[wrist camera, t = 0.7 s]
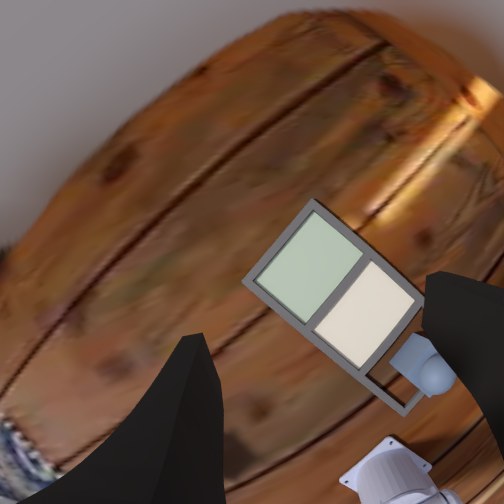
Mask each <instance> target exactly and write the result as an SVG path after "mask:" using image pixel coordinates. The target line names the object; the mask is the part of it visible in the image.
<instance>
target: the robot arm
mask: <svg viewBox="0 0 504 504" xmlns="http://www.w3.org/2000/svg"><path fill="white" fill-rule="evenodd" d="M421 327H422V328H423V330H424V332H425V333H426V335H427V337H428V338H429V340H430V342H431V343H432V345H433V346H434V348H435V349H436V351H437V352H438V353H439V354H440V356H441V357H442V358H443V359H444V360H445V362H446V363H447V364H448V365H449V367H450V368H451V369H452V370H453V371H454V373H455V374H456V375H457V376H458V378H459V379H460V380H461V381H462V383H463V384H464V385H465V386H466V388H467V389H468V390H469V391H470V393H471V394H472V396H473V397H474V399H475V400H476V402H477V404H478V405H479V407H480V409H481V411H482V412H483V414H484V416H485V418H486V420H487V422H488V424H489V426H490V428H491V430H492V432H493V434H494V436H495V439H496V441H497V444H498V446H499V449H500V452H501V454H502V457H503V460H504V289H503V288H500V287H496V286H493V285H490V284H487V283H483V282H480V281H477V280H474V279H470V278H467V277H464V276H460V275H456V274H452V273H448V272H443V271H439V272H436V273H433V274H430V275H427V276H426V286H425V298H424V308H423V317H422V325H421ZM223 427H224V409H223V399H222V390H221V382H220V379H219V376H218V374H217V371H216V368H215V366H214V363H213V360H212V358H211V355H210V352H209V349H208V347H207V344H206V341H205V338H204V335H203V333H198V334H193V335H188V336H183V337H182V338H181V340H180V341H179V343H178V344H177V346H176V347H175V349H174V351H173V352H172V354H171V355H170V357H169V359H168V360H167V362H166V363H165V365H164V366H163V368H162V370H161V371H160V373H159V374H158V376H157V377H156V379H155V380H154V382H153V383H152V385H151V386H150V388H149V389H148V390H147V392H146V393H145V394H144V396H143V397H142V398H141V400H140V401H139V402H138V404H137V405H136V407H135V408H134V409H133V410H132V412H131V413H130V414H129V415H128V416H127V418H126V419H125V420H124V421H123V422H122V423H121V424H120V426H119V427H118V428H117V429H116V430H115V431H114V432H113V433H112V434H111V435H110V436H109V437H108V438H107V439H106V440H105V441H104V442H103V443H102V444H101V445H100V446H99V447H98V448H97V449H95V450H94V451H93V452H92V453H91V454H90V455H89V456H88V457H87V458H85V459H84V460H83V461H82V462H81V463H80V464H78V465H77V466H76V467H75V468H73V469H72V470H71V471H69V472H68V473H67V474H65V475H64V476H62V477H61V478H60V479H58V480H57V481H55V482H54V483H52V484H51V485H49V486H47V487H46V488H44V489H42V490H41V491H39V492H37V493H35V494H33V495H32V496H30V497H28V498H26V499H24V500H22V501H20V502H18V503H16V504H226V499H225V491H224V480H223ZM391 441H393V442H392V443H390V442H391ZM424 464H425V465H424ZM423 465H424V466H423ZM431 468H432V465H431V464H430V463H428V462H427V461H425V460H424V459H422V458H421V457H419V456H418V455H417V454H415V453H414V452H412V451H411V450H409V449H408V448H407V447H405V446H404V445H402V444H401V443H399V442H398V441H397V440H395V439H394V438H393V437H391V436H388V437H386V438H385V439H384V440H383V441H382V442H381V443H380V444H378V445H377V446H376V447H375V448H374V449H373V450H372V451H371V452H370V453H369V454H368V455H366V456H365V457H364V458H363V459H362V460H361V461H360V462H358V463H357V464H356V465H355V466H354V467H352V468H351V469H350V470H349V471H348V472H346V473H345V474H344V475H343V476H341V477H340V479H339V480H340V482H341V483H342V484H344V485H346V486H347V487H349V488H351V489H353V490H354V491H356V492H358V493H359V497H360V501H361V504H463V502H462V501H461V499H460V498H459V496H458V495H457V494H456V493H455V492H454V491H453V490H448V489H443V490H441V491H439V490H438V488H437V487H436V485H435V484H434V482H433V481H432V479H431V478H430V476H429V475H428V473H427V472H429V471H430V470H431ZM347 480H348V481H347ZM345 481H347V482H345Z"/></svg>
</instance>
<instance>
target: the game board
mask: <svg viewBox="0 0 504 504" xmlns="http://www.w3.org/2000/svg"><path fill="white" fill-rule="evenodd" d="M311 212H312V213H311ZM315 212H316V213H317V214H316V213H315ZM310 213H311V214H310ZM309 214H310V215H309ZM308 215H309V216H308ZM321 217H322V218H323V219H322V218H321ZM305 219H306V220H305ZM304 220H305V221H304ZM303 221H304V222H303ZM327 222H328V223H329V224H328V223H327ZM300 225H301V226H300ZM299 226H300V227H299ZM298 227H299V228H298ZM333 227H334V228H335V229H334V228H333ZM295 231H296V232H295ZM294 232H295V233H294ZM339 232H340V233H341V234H342V235H341V234H340V233H339ZM293 233H294V234H293ZM290 237H291V238H290ZM289 238H290V239H289ZM346 238H347V239H348V240H349V241H348V240H347V239H346ZM288 239H289V240H288ZM287 240H288V241H287ZM284 244H285V245H284ZM353 244H354V245H355V246H356V247H355V246H354V245H353ZM283 245H284V246H283ZM282 246H283V247H282ZM279 250H280V251H279ZM278 251H279V252H278ZM361 251H362V252H363V253H364V254H363V253H362V252H361ZM277 252H278V253H277ZM276 253H277V254H276ZM273 257H274V258H273ZM360 257H361V258H360ZM272 258H273V259H272ZM359 258H360V259H359ZM271 259H272V260H271ZM370 259H371V260H372V261H373V262H372V261H371V260H370ZM270 260H271V261H270ZM357 261H358V262H357ZM356 262H357V263H356ZM267 264H268V265H267ZM266 265H267V266H266ZM265 266H266V267H265ZM353 266H354V267H353ZM352 267H353V268H352ZM379 267H380V268H381V269H382V270H383V271H382V270H381V269H380V268H379ZM262 270H263V271H262ZM261 271H262V272H261ZM349 271H350V272H349ZM260 272H261V273H260ZM348 272H349V273H348ZM259 273H260V274H259ZM345 276H346V277H345ZM256 277H257V278H256ZM344 277H345V278H344ZM390 277H391V278H392V279H393V280H394V281H395V282H394V281H393V280H392V279H391V278H390ZM255 278H256V279H255ZM343 278H344V279H343ZM254 279H255V280H254ZM253 280H254V281H253ZM241 282H242V283H243V284H244V285H245V286H246V287H247V288H249V289H250V290H251V291H252V292H253V293H254V294H255V295H257V296H258V297H259V298H260V299H261V300H262V301H264V302H265V303H266V304H267V305H268V306H269V307H271V308H272V309H273V310H274V311H275V312H276V313H277V314H279V315H280V316H281V317H282V318H283V319H285V320H286V321H287V322H288V323H289V324H290V325H292V326H293V327H294V328H295V329H296V330H297V331H299V332H300V333H301V334H302V335H303V336H305V337H306V338H307V339H308V340H309V341H311V342H312V343H313V344H314V345H315V346H317V347H318V348H319V349H320V350H321V351H322V352H324V353H325V354H326V355H327V356H329V357H330V358H331V359H332V360H333V361H335V362H336V363H337V364H338V365H339V366H341V367H342V368H343V369H344V370H346V371H347V372H348V373H349V374H350V375H352V376H353V377H354V378H355V379H357V380H358V381H359V382H360V383H361V384H363V385H364V386H365V387H366V388H368V389H369V390H370V391H371V392H373V393H374V394H375V395H376V396H378V397H379V398H380V399H381V400H383V401H384V402H385V403H386V404H388V405H389V406H390V407H391V408H393V409H394V410H395V411H396V412H398V413H399V414H400V415H402V416H403V417H405V416H406V415H407V414H408V413H409V411H410V410H411V409H412V408H413V407H414V406H415V405H416V404H417V403H418V402H419V400H420V399H421V398H422V397H423V396H424V395H425V394H424V393H423V392H422V391H421V390H420V389H419V390H418V391H417V392H416V393H415V395H414V396H413V397H412V398H411V399H410V400H409V401H408V402H407V403H406V405H405V406H404V407H403V406H402V405H400V404H399V403H398V402H397V401H395V400H394V399H393V398H392V397H390V396H389V395H388V394H387V393H386V392H384V391H383V390H382V389H381V388H379V387H378V386H377V385H376V384H375V383H373V382H372V381H371V380H370V379H368V378H367V377H366V376H365V375H366V374H367V372H368V371H369V370H370V369H371V368H372V367H373V366H374V365H375V363H376V362H377V361H378V360H379V359H380V358H381V357H382V355H383V354H384V353H385V352H386V351H387V349H388V348H389V347H390V346H391V345H392V343H393V342H394V341H395V340H396V339H397V337H398V336H399V335H400V334H401V332H402V331H403V330H404V328H405V327H406V326H407V325H408V323H409V322H410V321H411V319H412V318H413V317H414V315H415V314H416V313H417V311H418V310H419V309H420V307H422V308H424V297H423V296H422V295H421V294H420V293H419V292H418V291H417V290H416V289H415V288H414V287H413V286H412V285H411V284H410V283H409V282H408V281H407V280H406V279H405V278H403V277H402V276H401V275H400V274H399V273H398V272H397V271H396V270H395V269H394V268H393V267H392V266H390V265H389V264H388V263H387V262H386V261H385V260H384V259H383V258H382V257H381V256H379V255H378V254H377V253H376V252H375V251H374V250H373V249H372V248H370V247H369V246H368V245H367V244H366V243H365V242H364V241H363V240H361V239H360V238H359V237H358V236H357V235H356V234H354V233H353V232H352V231H351V230H350V229H349V228H347V227H346V226H345V225H344V224H343V223H342V222H340V221H339V220H338V219H337V218H336V217H334V216H333V215H332V214H331V213H330V212H328V211H327V210H326V209H325V208H323V207H322V206H321V205H320V204H319V203H317V202H316V201H315V200H314V199H311V200H310V201H309V202H308V203H307V205H306V206H305V207H304V208H303V209H302V210H301V212H300V213H299V214H298V215H297V216H296V218H295V219H294V220H293V221H292V222H291V224H290V225H289V226H288V227H287V228H286V229H285V231H284V232H283V233H282V234H281V235H280V236H279V238H278V239H277V240H276V241H275V242H274V244H273V245H272V246H271V247H270V248H269V249H268V251H267V252H266V253H265V254H264V255H263V257H262V258H261V259H260V260H259V261H258V262H257V264H256V265H255V266H254V267H253V268H252V269H251V271H250V272H249V273H248V274H247V275H246V276H245V278H244V279H243V280H242V281H241ZM340 282H341V283H340ZM256 283H257V284H258V285H259V286H260V287H259V286H258V285H257V284H256ZM339 283H340V284H339ZM336 287H337V288H336ZM335 288H336V289H335ZM263 289H264V290H265V291H266V292H267V293H266V292H265V291H264V290H263ZM334 289H335V290H334ZM404 290H405V291H406V292H407V293H408V294H409V295H410V296H409V295H408V294H407V293H406V292H405V291H404ZM331 293H332V294H331ZM330 294H331V295H330ZM270 295H271V296H272V297H273V298H274V299H273V298H272V297H271V296H270ZM329 295H330V296H329ZM325 300H326V301H325ZM277 301H278V302H279V303H280V304H281V305H280V304H279V303H278V302H277ZM324 301H325V302H324ZM323 302H324V303H323ZM413 302H414V303H413ZM320 306H321V307H320ZM410 306H411V307H410ZM284 307H285V308H286V309H287V310H288V311H287V310H286V309H285V308H284ZM319 307H320V308H319ZM318 308H319V309H318ZM317 309H318V310H317ZM407 310H408V311H407ZM291 313H292V314H293V315H294V316H295V317H294V316H293V315H292V314H291ZM314 313H315V314H314ZM313 314H314V315H313ZM404 314H405V315H404ZM312 315H313V316H312ZM311 316H312V317H311ZM298 319H299V320H300V321H301V322H302V323H301V322H300V321H299V320H298ZM307 321H308V322H307ZM306 322H307V323H306ZM305 323H306V324H305ZM397 323H398V324H397ZM304 324H305V325H304ZM393 328H394V329H393ZM311 330H312V331H313V332H314V333H315V334H314V333H313V332H312V331H311ZM389 333H390V334H389ZM318 336H319V337H320V338H321V339H320V338H319V337H318ZM384 339H385V340H384ZM324 341H325V342H326V343H327V344H326V343H325V342H324ZM379 345H380V346H379ZM330 346H331V347H332V348H333V349H334V350H333V349H332V348H331V347H330ZM336 351H337V352H338V353H339V354H340V355H339V354H338V353H337V352H336ZM374 351H375V352H374ZM342 356H343V357H344V358H345V359H346V360H345V359H344V358H343V357H342ZM367 359H368V360H367ZM348 361H349V362H350V363H351V364H352V365H351V364H350V363H349V362H348ZM354 366H355V367H356V368H357V369H356V368H355V367H354ZM359 368H360V369H359Z"/></svg>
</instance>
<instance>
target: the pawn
mask: <svg viewBox="0 0 504 504" xmlns="http://www.w3.org/2000/svg"><path fill="white" fill-rule="evenodd" d="M389 363H390V364H391V365H392V366H393V367H394V368H396V369H397V370H398V371H399V372H400V373H401V374H402V375H404V376H405V377H406V378H407V379H408V380H409V381H411V382H412V383H413V384H414V385H415V386H416V387H417V388H419V389H420V390H421V391H422V392H423V393H424V394H426V395H427V396H428V397H429V398H430V397H431V396H432V395H438V394H442V393H444V392H446V391H448V390H449V389H450V388H451V387H452V385H453V384H454V382H455V380H456V376H457V375H456V374H455V373H454V371H453V370H452V369H451V368H450V367H449V365H448V364H447V363H446V362H445V360H444V359H443V358H442V357H441V356H440V354H439V353H438V352H437V351H436V349H435V348H434V346H433V345H432V343H431V342H430V340H429V339H427V338H424V337H422V336H420V335H417V334H415V333H412V335H411V336H410V337H409V338H408V340H407V341H406V342H405V343H404V345H403V346H402V347H401V348H400V350H399V351H398V352H397V353H396V354H395V356H394V357H393V358H392V359H391V360H390V362H389Z"/></svg>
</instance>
